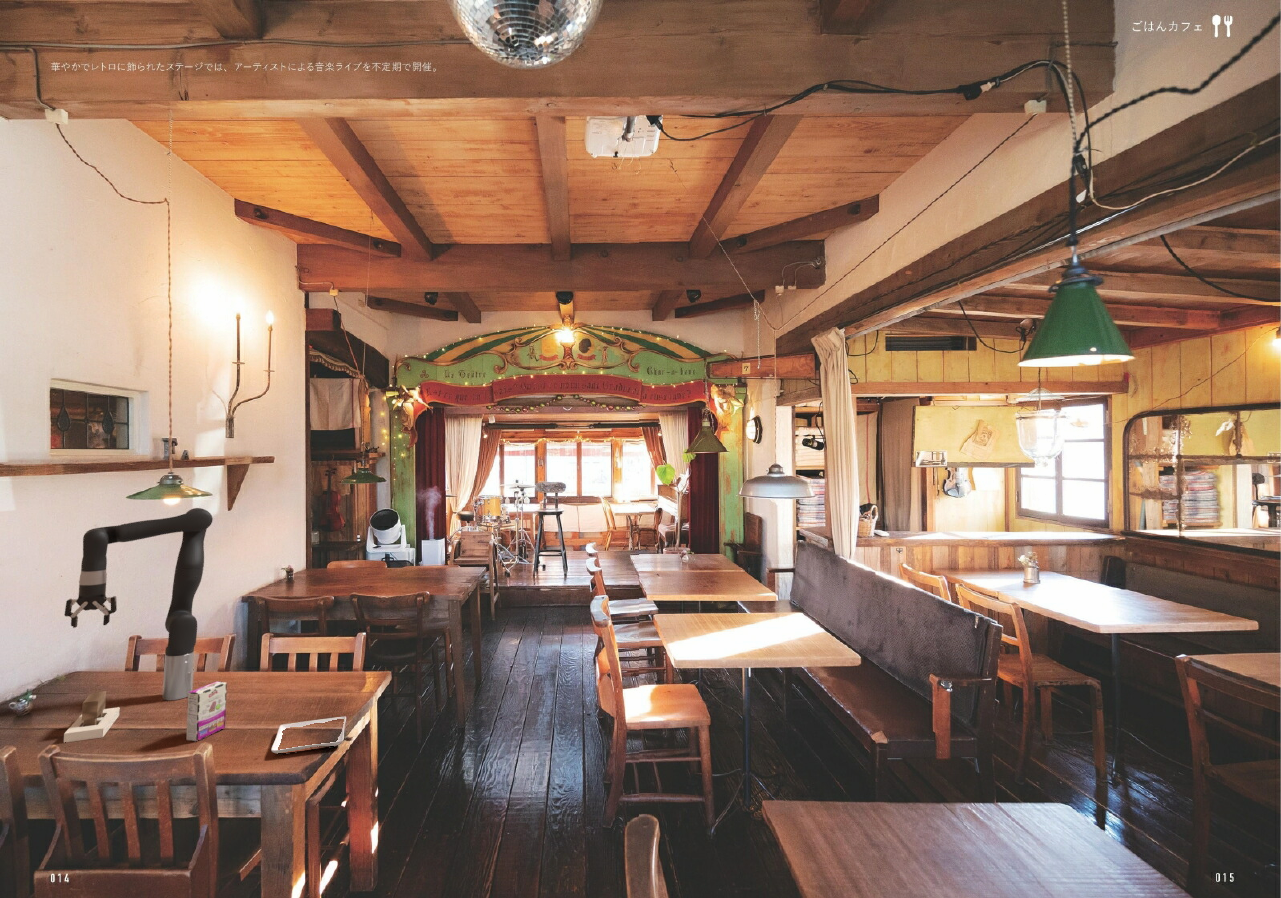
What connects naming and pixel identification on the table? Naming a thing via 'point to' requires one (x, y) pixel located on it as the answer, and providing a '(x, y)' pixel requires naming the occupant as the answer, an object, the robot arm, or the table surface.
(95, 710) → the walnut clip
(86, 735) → the slotted block
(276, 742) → the rectangular frame
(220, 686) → the candy bar box
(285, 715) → the table surface
